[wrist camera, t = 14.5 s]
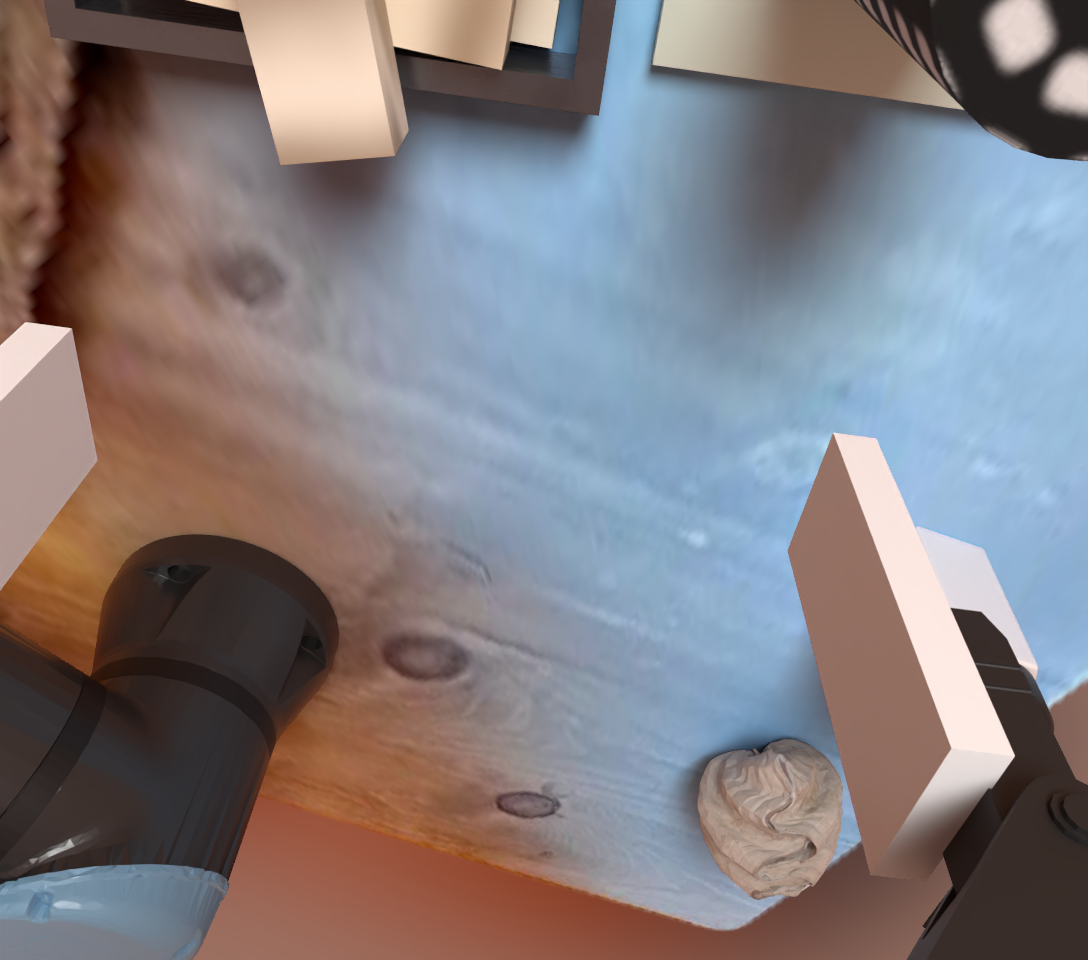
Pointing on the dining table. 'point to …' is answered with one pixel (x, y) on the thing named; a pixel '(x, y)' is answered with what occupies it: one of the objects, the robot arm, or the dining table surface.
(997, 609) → the jar
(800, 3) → the mat
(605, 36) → the tray
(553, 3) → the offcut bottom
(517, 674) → the dining table surface
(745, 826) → the seashell
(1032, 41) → the spotted tube
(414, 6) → the offcut middle
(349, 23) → the offcut top
